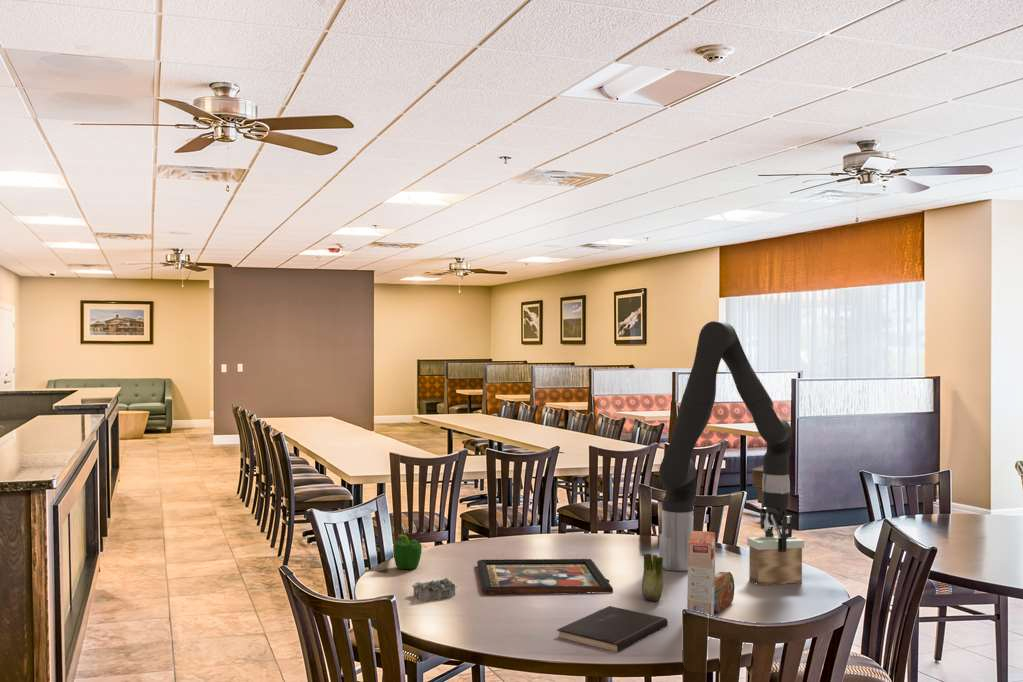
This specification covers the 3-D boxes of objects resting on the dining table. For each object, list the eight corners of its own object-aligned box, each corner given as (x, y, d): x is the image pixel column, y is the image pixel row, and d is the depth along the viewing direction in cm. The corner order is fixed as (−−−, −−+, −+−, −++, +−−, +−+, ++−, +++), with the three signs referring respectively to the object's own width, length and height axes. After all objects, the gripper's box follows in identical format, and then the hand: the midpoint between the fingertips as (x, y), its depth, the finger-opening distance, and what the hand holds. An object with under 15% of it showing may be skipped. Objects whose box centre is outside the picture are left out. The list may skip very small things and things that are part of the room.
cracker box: (712, 634, 202) (713, 543, 202) (686, 632, 204) (686, 541, 204) (715, 616, 215) (716, 531, 216) (690, 614, 217) (690, 529, 217)
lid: (758, 552, 243) (758, 541, 243) (747, 547, 250) (747, 536, 250) (804, 550, 246) (804, 539, 246) (791, 545, 253) (792, 534, 253)
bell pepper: (424, 564, 264) (424, 531, 264) (418, 572, 256) (418, 537, 256) (396, 564, 265) (396, 530, 265) (390, 571, 257) (390, 536, 257)
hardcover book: (556, 639, 200) (557, 629, 200) (609, 615, 218) (609, 605, 218) (618, 654, 190) (618, 644, 190) (667, 627, 208) (667, 618, 208)
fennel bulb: (665, 602, 227) (665, 555, 227) (648, 603, 226) (648, 557, 226) (654, 596, 233) (655, 550, 233) (638, 597, 231) (638, 552, 231)
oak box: (759, 585, 244) (759, 549, 244) (749, 580, 249) (749, 544, 249) (801, 583, 247) (802, 547, 247) (790, 577, 252) (791, 542, 252)
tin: (714, 616, 216) (715, 582, 216) (702, 614, 218) (702, 580, 218) (735, 601, 228) (735, 569, 228) (723, 599, 230) (724, 567, 230)
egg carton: (420, 603, 226) (420, 587, 226) (410, 595, 233) (410, 580, 233) (458, 597, 231) (458, 582, 231) (447, 590, 238) (447, 575, 238)
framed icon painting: (486, 601, 229) (486, 590, 229) (465, 568, 263) (465, 559, 263) (625, 595, 236) (625, 584, 236) (587, 564, 271) (587, 555, 271)
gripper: (751, 486, 254) (751, 543, 254) (776, 494, 240) (776, 555, 240) (775, 485, 256) (774, 542, 256) (801, 493, 242) (801, 554, 242)
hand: (775, 548), depth 248 cm, fingers closed on lid, 6 cm apart
